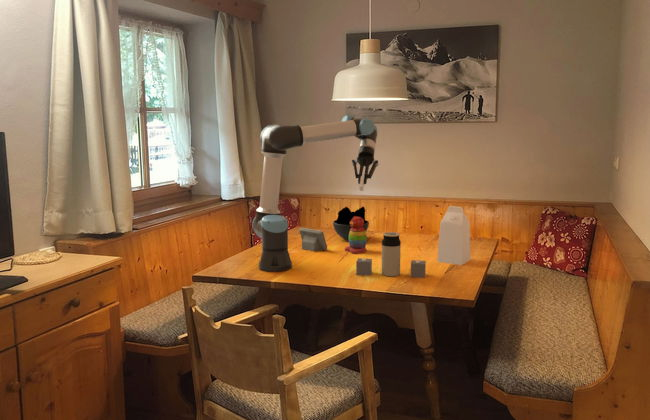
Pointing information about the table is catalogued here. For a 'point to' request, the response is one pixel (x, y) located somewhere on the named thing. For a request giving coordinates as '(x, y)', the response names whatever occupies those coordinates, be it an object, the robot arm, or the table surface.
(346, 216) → the bowl of black rocks
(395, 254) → the travel mug
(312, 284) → the table surface
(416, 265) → the dotted block right
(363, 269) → the dotted block left
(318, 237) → the digital clock
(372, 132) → the robot arm
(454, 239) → the milk
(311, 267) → the table surface
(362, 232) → the stacking bear
